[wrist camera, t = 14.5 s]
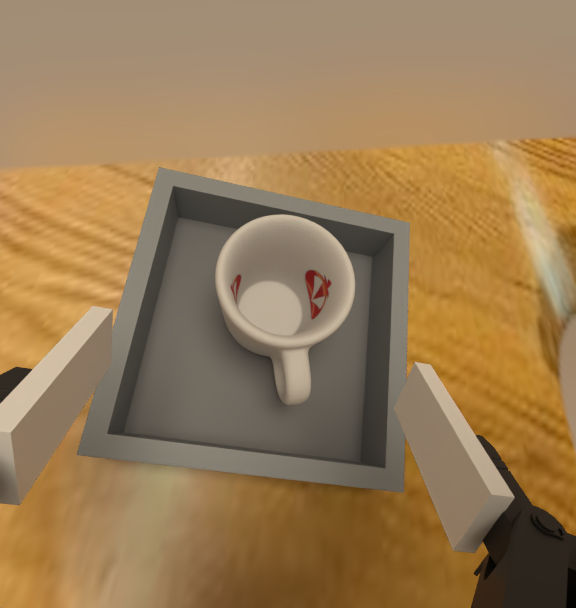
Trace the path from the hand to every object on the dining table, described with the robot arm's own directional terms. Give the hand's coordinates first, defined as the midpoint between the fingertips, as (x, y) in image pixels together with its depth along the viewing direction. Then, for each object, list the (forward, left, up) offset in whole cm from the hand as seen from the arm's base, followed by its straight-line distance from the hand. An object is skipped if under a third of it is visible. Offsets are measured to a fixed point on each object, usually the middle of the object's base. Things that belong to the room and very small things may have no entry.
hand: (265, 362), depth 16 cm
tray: (-1, -4, -11) cm, 12 cm away
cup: (-1, -4, -11) cm, 12 cm away
